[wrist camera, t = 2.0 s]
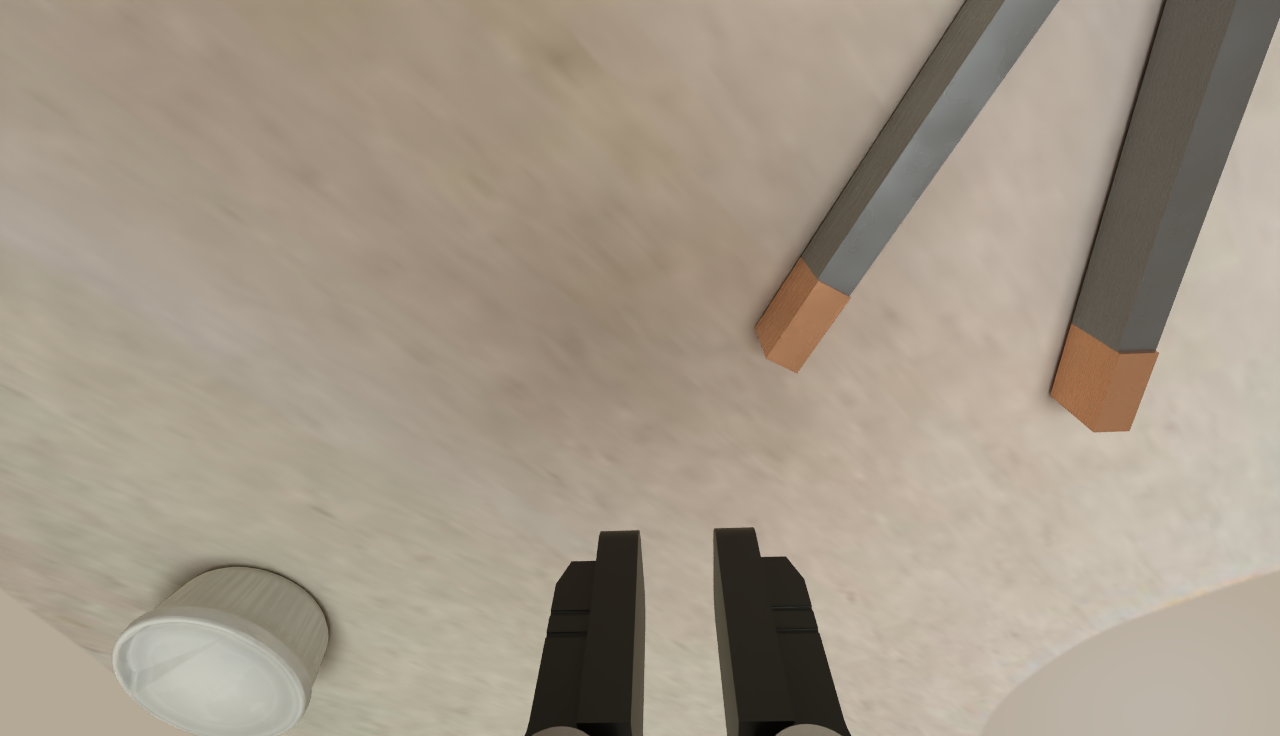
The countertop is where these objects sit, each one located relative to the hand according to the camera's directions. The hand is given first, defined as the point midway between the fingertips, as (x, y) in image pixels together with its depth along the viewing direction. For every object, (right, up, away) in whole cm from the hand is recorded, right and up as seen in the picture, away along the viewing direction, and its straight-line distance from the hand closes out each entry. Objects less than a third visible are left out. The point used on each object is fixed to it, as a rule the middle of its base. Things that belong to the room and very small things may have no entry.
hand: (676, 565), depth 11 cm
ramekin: (-26, -13, +29) cm, 41 cm away
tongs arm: (+11, +15, +13) cm, 23 cm away
